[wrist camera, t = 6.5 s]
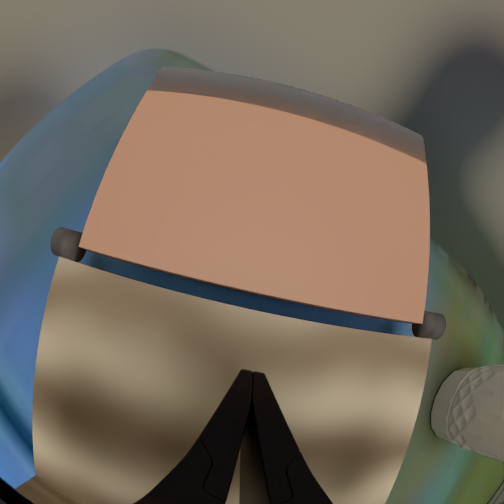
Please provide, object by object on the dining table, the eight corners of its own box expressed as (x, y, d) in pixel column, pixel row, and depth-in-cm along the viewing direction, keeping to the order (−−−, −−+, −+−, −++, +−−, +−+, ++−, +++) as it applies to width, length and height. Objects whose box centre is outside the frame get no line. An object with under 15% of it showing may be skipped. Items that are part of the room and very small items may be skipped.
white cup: (449, 452, 15) (523, 473, 5) (410, 426, 16) (501, 455, 6) (486, 382, 17) (561, 382, 8) (453, 346, 18) (545, 337, 9)
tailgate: (422, 323, 13) (422, 136, 16) (78, 246, 12) (162, 66, 15) (394, 322, 16) (403, 155, 19) (101, 257, 15) (168, 93, 18)
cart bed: (344, 517, 13) (391, 569, 5) (60, 464, 12) (2, 504, 4) (399, 319, 18) (484, 304, 10) (93, 251, 17) (26, 197, 9)
